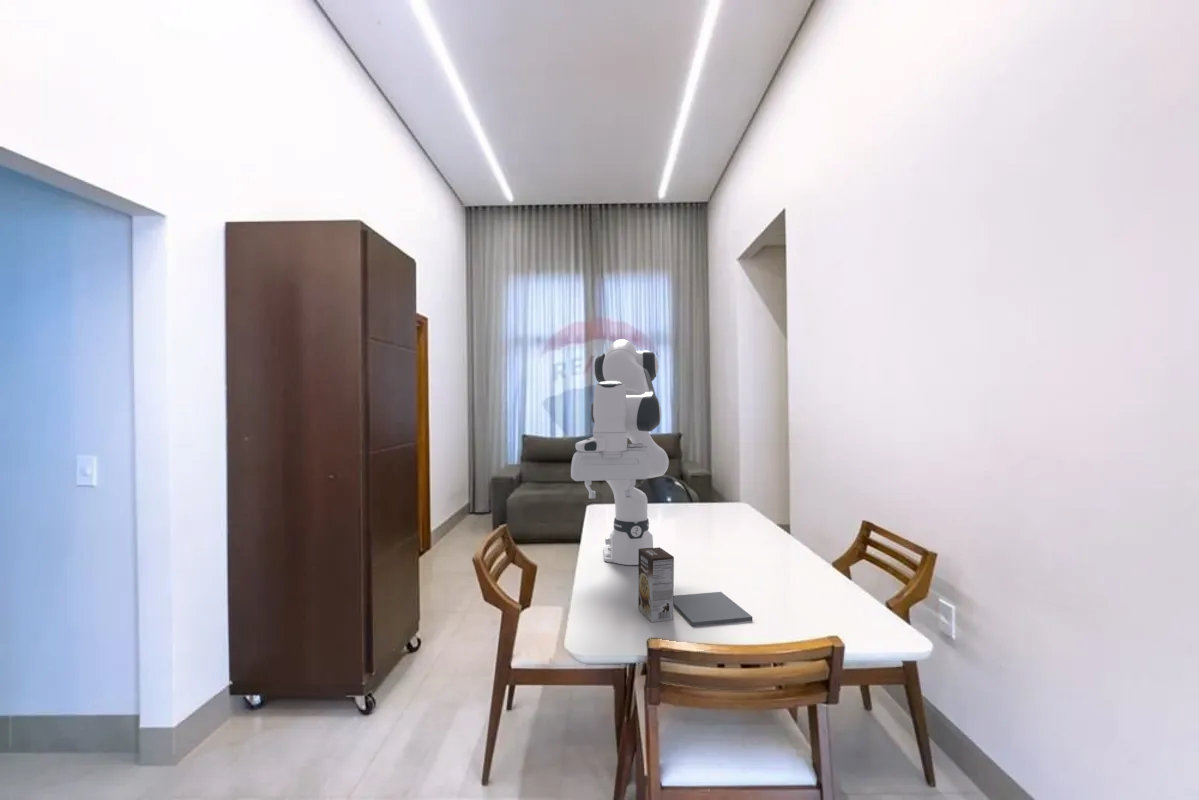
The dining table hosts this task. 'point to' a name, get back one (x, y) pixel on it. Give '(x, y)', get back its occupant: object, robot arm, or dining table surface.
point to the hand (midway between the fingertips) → (610, 497)
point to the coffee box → (656, 584)
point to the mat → (709, 609)
